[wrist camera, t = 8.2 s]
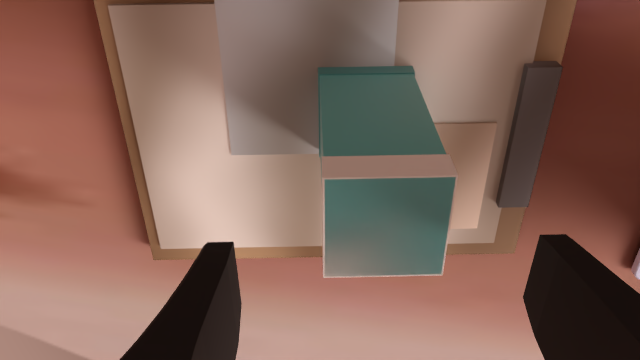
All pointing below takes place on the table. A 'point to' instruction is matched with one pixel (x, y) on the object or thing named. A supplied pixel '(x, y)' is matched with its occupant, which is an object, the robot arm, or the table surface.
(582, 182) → the table surface
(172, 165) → the clipboard
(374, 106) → the teal rimmed box
